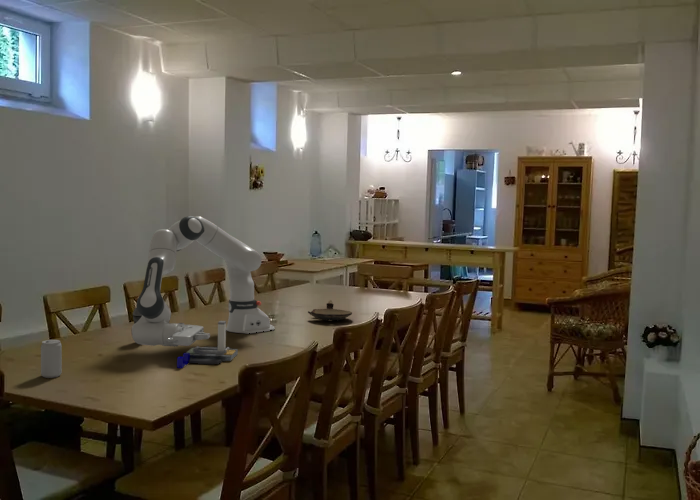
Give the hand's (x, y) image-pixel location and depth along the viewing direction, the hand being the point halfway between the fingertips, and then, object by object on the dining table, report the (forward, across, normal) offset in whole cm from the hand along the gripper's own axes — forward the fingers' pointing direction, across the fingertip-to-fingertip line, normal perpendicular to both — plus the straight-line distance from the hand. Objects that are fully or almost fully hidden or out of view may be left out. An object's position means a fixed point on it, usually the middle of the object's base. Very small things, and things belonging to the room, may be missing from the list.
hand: (209, 336), depth 253 cm
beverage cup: (-34, +20, +8) cm, 40 cm away
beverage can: (-45, -33, +8) cm, 57 cm away
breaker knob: (+5, 0, +6) cm, 8 cm away
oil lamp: (+42, +86, +8) cm, 96 cm away
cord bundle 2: (+1, -10, +8) cm, 13 cm away
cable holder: (-7, -13, +9) cm, 17 cm away
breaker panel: (+1, 0, +8) cm, 8 cm away
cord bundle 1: (+1, +10, +8) cm, 13 cm away
